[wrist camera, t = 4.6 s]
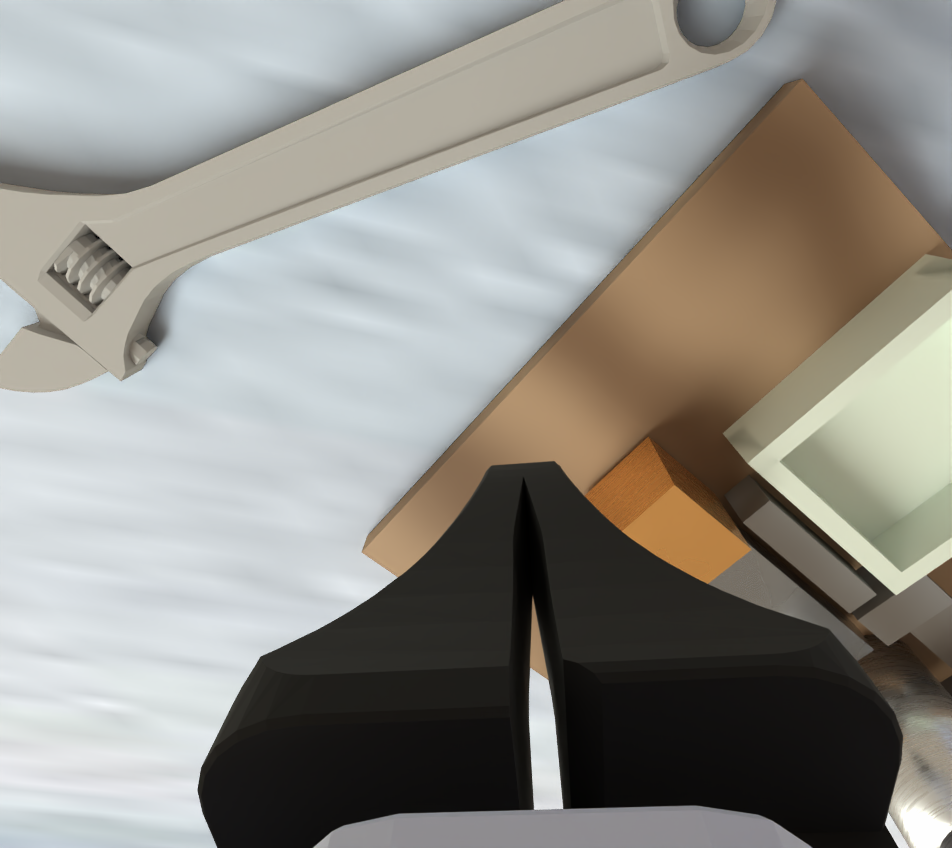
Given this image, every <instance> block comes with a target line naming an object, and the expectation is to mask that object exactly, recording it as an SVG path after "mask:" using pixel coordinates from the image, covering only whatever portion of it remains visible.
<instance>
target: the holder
mask: <svg viewBox="0 0 952 848" xmlns="http://www.w3.org/2000/svg"><path fill="white" fill-rule="evenodd" d="M925 254H928V255H933V256H938V257H943V258H948V259H952V250H951V249H950V247H949V246H948V245H947V244H946V243H945V242H944V241H943V239H942V238H941V237H940V236H939V235H938V234H937V233H936V231H935V230H934V229H933V228H932V227H931V226H930V224H929V223H928V222H927V221H926V220H925V219H924V218H923V216H922V215H921V214H920V213H919V212H918V211H917V210H916V208H915V207H914V206H913V205H912V204H911V203H910V202H909V200H908V199H907V198H906V197H905V196H904V195H903V193H902V192H901V191H900V190H899V189H898V188H897V187H896V185H895V184H894V183H893V182H892V181H891V180H890V179H889V177H888V176H887V175H886V174H885V173H884V172H883V171H882V169H881V168H880V167H879V166H878V165H877V164H876V162H875V161H874V160H873V159H872V158H871V157H870V156H869V154H868V153H867V152H866V151H865V150H864V149H863V148H862V146H861V145H860V144H859V143H858V142H857V141H856V140H855V138H854V137H853V136H852V135H851V134H850V133H849V131H848V130H847V129H846V128H845V127H844V126H843V125H842V123H841V122H840V121H839V120H838V119H837V118H836V117H835V115H834V114H833V113H832V112H831V111H830V110H829V109H828V107H827V106H826V105H825V104H824V103H823V102H822V101H821V99H820V98H819V97H818V96H817V95H816V94H815V92H814V91H813V90H812V89H811V88H810V87H809V86H808V84H807V83H806V82H805V81H804V80H803V79H800V80H797V81H793V82H790V83H786V84H784V85H783V86H782V87H781V88H780V89H779V91H778V92H777V93H776V94H775V95H774V96H773V97H772V98H771V99H770V100H769V101H768V102H767V104H766V105H765V106H764V107H763V108H762V109H761V110H760V111H759V112H758V113H757V114H756V115H755V117H754V118H753V119H752V120H751V121H750V122H749V123H748V124H747V125H746V126H745V127H744V128H743V130H742V131H741V132H740V133H739V134H738V135H737V136H736V137H735V138H734V139H733V140H732V141H731V143H730V144H729V145H728V146H727V147H726V148H725V149H724V150H723V151H722V152H721V153H720V154H719V156H718V157H717V158H716V159H715V160H714V161H713V162H712V163H711V164H710V165H709V166H708V167H707V169H706V170H705V171H704V172H703V173H702V174H701V175H700V176H699V177H698V178H697V179H696V180H695V182H694V183H693V184H692V185H691V186H690V187H689V188H688V189H687V190H686V191H685V192H684V193H683V195H682V196H681V197H680V198H679V199H678V200H677V201H676V202H675V203H674V204H673V205H672V206H671V208H670V209H669V210H668V211H667V212H666V213H665V214H664V215H663V216H662V217H661V218H660V219H659V221H658V222H657V223H656V224H655V225H654V226H653V227H652V228H651V229H650V230H649V231H648V232H647V234H646V235H645V236H644V237H643V238H642V239H641V240H640V241H639V242H638V243H637V244H636V245H635V247H634V248H633V249H632V250H631V251H630V252H629V253H628V254H627V255H626V256H625V257H624V258H623V260H622V261H621V262H620V263H619V264H618V265H617V266H616V267H615V268H614V269H613V270H612V271H611V273H610V274H609V275H608V276H607V277H606V278H605V279H604V280H603V281H602V282H601V283H600V284H599V286H598V287H597V288H596V289H595V290H594V291H593V292H592V293H591V294H590V295H589V296H588V297H587V299H586V300H585V301H584V302H583V303H582V304H581V305H580V306H579V307H578V308H577V309H576V310H575V312H574V313H573V314H572V315H571V316H570V317H569V318H568V319H567V320H566V321H565V322H564V323H563V325H562V326H561V327H560V328H559V329H558V330H557V331H556V332H555V333H554V334H553V335H552V336H551V338H550V339H549V340H548V341H547V342H546V343H545V344H544V345H543V346H542V347H541V348H540V349H539V351H538V352H537V353H536V354H535V355H534V356H533V357H532V358H531V359H530V360H529V361H528V362H527V364H526V365H525V366H524V367H523V368H522V369H521V370H520V371H519V372H518V373H517V374H516V375H515V377H514V378H513V379H512V380H511V381H510V382H509V383H508V384H507V385H506V386H505V387H504V388H503V390H502V391H501V392H500V393H499V394H498V395H497V396H496V397H495V398H494V399H493V400H492V401H491V403H490V404H489V405H488V406H487V407H486V408H485V409H484V410H483V411H482V412H481V413H480V414H479V416H478V417H477V418H476V419H475V420H474V421H473V422H472V423H471V424H470V425H469V426H468V427H467V429H466V430H465V431H464V432H463V433H462V434H461V435H460V436H459V437H458V438H457V439H456V440H455V442H454V443H453V444H452V445H451V446H450V447H449V448H448V449H447V450H446V451H445V452H444V453H443V455H442V456H441V457H440V458H439V459H438V460H437V461H436V462H435V463H434V464H433V465H432V466H431V468H430V469H429V470H428V471H427V472H426V473H425V474H424V475H423V476H422V477H421V478H420V479H419V481H418V482H417V483H416V484H415V485H414V486H413V487H412V488H411V489H410V490H409V491H408V492H407V494H406V495H405V496H404V497H403V498H402V499H401V500H400V501H399V502H398V503H397V504H396V505H395V507H394V508H393V509H392V510H391V511H390V512H389V513H388V514H387V515H386V516H385V517H384V518H383V520H382V521H381V522H380V523H379V524H378V525H377V526H376V527H375V528H374V529H373V530H372V531H371V533H370V534H369V535H368V536H367V539H366V541H365V544H364V547H363V550H362V553H363V554H365V555H366V556H368V557H369V558H371V559H372V560H374V561H375V562H377V563H378V564H379V565H381V566H382V567H384V568H385V569H387V570H388V571H390V572H391V573H393V574H394V575H396V576H397V577H399V576H401V575H402V574H403V573H404V572H406V571H407V570H408V569H409V568H411V567H412V566H413V565H414V564H415V563H416V562H417V561H418V560H419V559H420V558H421V557H423V556H424V555H425V554H426V553H427V551H428V550H429V549H430V548H431V547H432V546H433V545H434V544H435V543H436V542H437V541H438V539H439V538H440V537H441V536H442V535H443V533H444V532H445V531H446V530H447V529H448V528H449V526H450V525H451V524H452V523H453V522H454V520H455V519H456V518H457V516H458V515H459V514H460V512H461V511H462V509H463V508H464V506H465V505H466V504H467V502H468V501H469V499H470V498H471V496H472V495H473V493H474V492H475V490H476V488H477V487H478V485H479V484H480V482H481V480H482V478H483V476H484V474H485V472H486V471H487V470H488V469H489V467H490V466H491V465H505V464H519V463H533V462H547V461H555V462H556V463H557V464H558V465H560V466H561V468H562V470H563V471H564V472H565V474H566V475H567V476H568V477H569V479H570V480H571V481H572V482H573V484H574V485H575V486H576V487H577V488H578V489H579V491H580V492H581V493H582V494H583V495H584V496H585V495H586V494H587V493H588V492H589V491H590V490H591V489H592V488H593V487H594V486H596V485H597V484H598V483H599V482H600V481H601V480H602V479H603V478H604V477H605V476H606V475H607V474H608V473H610V472H611V471H612V470H613V469H614V468H615V467H616V466H617V465H618V464H619V463H620V462H621V461H622V460H623V459H625V458H626V457H627V456H628V455H629V454H630V453H631V452H632V451H633V450H634V449H635V448H636V447H637V446H639V445H640V444H641V443H642V442H643V441H644V440H645V439H646V438H647V437H649V438H651V439H652V440H653V441H654V442H655V443H656V444H658V445H659V446H660V447H661V448H662V449H663V450H665V451H666V452H667V453H668V454H669V455H670V456H672V457H673V458H674V459H675V460H676V461H677V462H679V463H680V464H681V465H682V466H683V467H684V468H686V469H687V470H688V471H689V472H690V473H692V474H693V475H694V476H695V477H696V478H697V479H699V480H700V481H701V482H702V483H703V484H704V485H706V486H707V487H708V488H709V489H710V490H711V491H713V492H714V493H715V494H716V496H717V498H718V499H719V501H720V502H721V504H722V505H723V507H724V508H725V510H726V511H727V513H728V514H729V516H730V517H731V519H732V520H733V522H735V523H736V524H737V525H738V526H739V527H740V528H742V529H743V530H744V531H745V532H746V533H748V534H749V535H750V536H751V537H752V538H753V539H755V540H756V541H757V542H758V543H759V544H760V545H762V546H763V547H764V548H765V549H766V550H768V551H769V552H770V553H771V554H772V555H773V556H775V557H776V558H777V559H778V560H779V561H781V562H782V563H783V564H784V565H785V566H786V567H788V568H789V569H790V570H791V571H792V572H794V573H795V574H796V575H797V576H798V577H799V578H801V579H802V580H803V581H804V582H805V583H807V584H808V585H809V586H810V587H811V588H812V589H814V590H815V591H816V592H817V593H818V594H820V595H821V596H822V597H823V598H824V599H825V600H827V601H828V602H829V603H830V604H831V605H833V606H834V607H835V608H836V609H837V610H838V611H840V612H841V613H842V614H843V615H844V616H846V617H847V618H848V619H849V620H850V621H851V622H853V623H854V624H855V626H856V627H857V628H858V629H859V631H860V632H861V633H862V635H863V636H864V635H875V636H877V637H878V638H879V639H880V640H881V641H883V642H884V643H885V644H886V645H887V646H889V645H891V644H892V643H894V642H896V641H897V640H901V641H903V642H904V643H905V644H907V645H908V646H909V647H910V648H911V649H912V651H913V652H914V653H915V654H916V655H917V656H918V658H919V659H920V660H921V661H922V662H923V663H924V665H925V666H926V667H927V668H928V669H929V671H930V672H931V673H932V674H933V675H934V676H935V678H936V679H937V680H938V681H939V682H940V683H941V685H942V686H943V687H944V688H945V689H946V690H947V692H948V693H949V694H950V695H951V696H952V557H951V558H950V559H949V560H947V561H946V562H944V563H943V564H941V565H940V566H938V567H937V568H935V569H934V570H933V571H931V572H930V573H928V574H927V575H925V576H924V577H922V578H921V579H919V580H918V581H916V582H915V583H914V584H912V585H911V586H909V587H908V588H906V589H905V590H903V591H902V592H900V593H899V594H898V595H895V594H894V593H893V592H892V591H891V590H890V589H888V588H887V587H886V586H885V585H884V584H883V583H882V582H881V581H879V580H878V579H877V578H876V577H875V576H874V575H873V574H872V573H870V572H869V571H868V570H867V569H866V568H865V567H864V566H863V565H861V564H860V563H859V562H858V561H857V560H856V559H855V558H854V557H852V556H851V555H850V554H849V553H848V552H847V551H846V550H844V549H843V548H842V547H841V546H840V545H839V544H838V543H837V542H835V541H834V540H833V539H832V538H831V537H830V536H829V535H828V534H826V533H825V532H824V531H823V530H822V529H821V528H820V527H819V526H817V525H816V524H815V523H814V522H813V521H812V520H811V519H810V518H808V517H807V516H806V515H805V514H804V513H803V512H802V511H801V510H799V509H798V508H797V507H796V506H795V505H794V504H793V503H792V502H790V501H789V500H788V499H787V498H786V497H785V496H784V495H783V494H781V493H780V492H779V491H778V490H777V489H776V488H775V487H774V486H772V485H771V484H770V483H769V482H768V481H767V480H766V479H765V478H763V477H762V476H761V475H760V474H759V473H758V472H757V471H755V470H754V469H753V468H752V467H751V466H750V465H749V464H748V463H747V462H746V461H745V460H744V459H743V457H742V456H741V455H740V454H739V453H738V451H737V450H736V449H735V448H734V447H733V445H732V444H731V443H730V442H729V441H728V439H727V438H726V437H725V436H724V435H723V433H724V432H725V431H726V430H727V429H728V428H729V427H730V426H732V425H733V424H734V423H735V422H736V421H737V420H738V419H739V418H741V417H742V416H743V415H744V414H745V413H746V412H747V411H749V410H750V409H751V408H752V407H753V406H754V405H755V404H756V403H758V402H759V401H760V400H761V399H762V398H763V397H764V396H765V395H767V394H768V393H769V392H770V391H771V390H772V389H773V388H775V387H776V386H777V385H778V384H779V383H780V382H781V381H782V380H784V379H785V378H786V377H787V376H788V375H789V374H790V373H792V372H793V371H794V370H795V369H796V368H797V367H798V366H799V365H801V364H802V363H803V362H804V361H805V360H806V359H807V358H808V357H810V356H811V355H812V354H813V353H814V352H815V351H816V350H818V349H819V348H820V347H821V346H822V345H823V344H824V343H825V342H827V341H828V340H829V339H830V338H831V337H832V336H833V335H834V334H836V333H837V332H838V331H839V330H840V329H841V328H842V327H844V326H845V325H846V324H847V323H848V322H849V321H850V320H851V319H853V318H854V317H855V316H856V315H857V314H858V313H859V312H861V311H862V310H863V309H864V308H865V307H866V306H867V305H868V304H870V303H871V302H872V301H873V300H874V299H875V298H876V297H877V296H879V295H880V294H881V293H882V292H883V291H884V290H885V289H887V288H888V287H889V286H890V285H891V284H892V283H893V282H894V281H896V280H897V279H898V278H899V277H900V276H901V275H902V274H903V273H905V272H906V271H907V270H908V269H909V268H910V267H911V266H913V265H914V264H915V263H916V262H917V261H918V260H919V259H920V258H922V257H923V256H924V255H925ZM530 668H532V669H533V670H535V671H536V672H538V673H539V674H541V675H542V676H543V677H545V678H546V679H548V674H547V669H546V663H545V658H544V653H543V648H542V642H541V637H540V632H539V627H538V621H537V616H536V611H535V605H534V600H533V601H532V628H531V653H530ZM548 680H549V679H548Z"/></svg>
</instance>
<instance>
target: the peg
mask: <svg viewBox="0 0 952 848" xmlns="http://www.w3.org/2000/svg"><path fill="white" fill-rule="evenodd" d="M864 637H865V638H866V640H867V641H868V642H869V644H870V645H871V646H872V648H873V649H874V650H873V651H872V652H870V653H869V654H867V655H866V656H864V657H863V658H861V659H860V660H858V661H857V662H858V663H859V664H860V666H861V667H862V668H863V670H864V671H865V672H866V673H867V675H868V676H869V677H870V679H871V680H872V681H873V683H874V684H875V686H876V687H877V689H878V690H879V691H880V693H881V694H882V695H883V697H884V698H885V700H886V701H887V702H888V704H889V705H890V707H891V708H892V709H893V711H894V712H895V715H896V717H897V720H898V723H899V726H900V728H901V731H902V734H903V747H902V761H901V765H900V769H899V772H898V776H897V780H896V784H895V788H894V791H893V795H892V799H891V803H890V807H889V811H888V812H889V814H890V816H891V817H892V819H893V821H894V822H895V824H896V826H897V827H898V829H899V831H900V832H901V834H902V836H903V837H904V839H905V841H906V842H907V844H908V846H909V847H910V848H952V696H951V695H950V694H949V693H948V692H947V690H946V689H945V688H944V687H943V686H942V685H941V683H940V682H939V681H938V680H937V679H936V678H935V676H934V675H933V674H932V673H931V672H930V671H929V669H928V668H927V667H926V666H925V665H924V663H923V662H922V661H921V660H920V659H919V658H918V656H917V655H916V654H915V653H914V652H913V651H912V649H911V648H910V647H909V646H908V645H907V644H905V643H904V642H903V641H901V640H897V641H896V642H894V643H892V644H891V645H889V646H887V645H886V644H885V643H884V642H883V641H881V640H880V639H879V638H878V637H877V636H875V635H864Z"/></svg>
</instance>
